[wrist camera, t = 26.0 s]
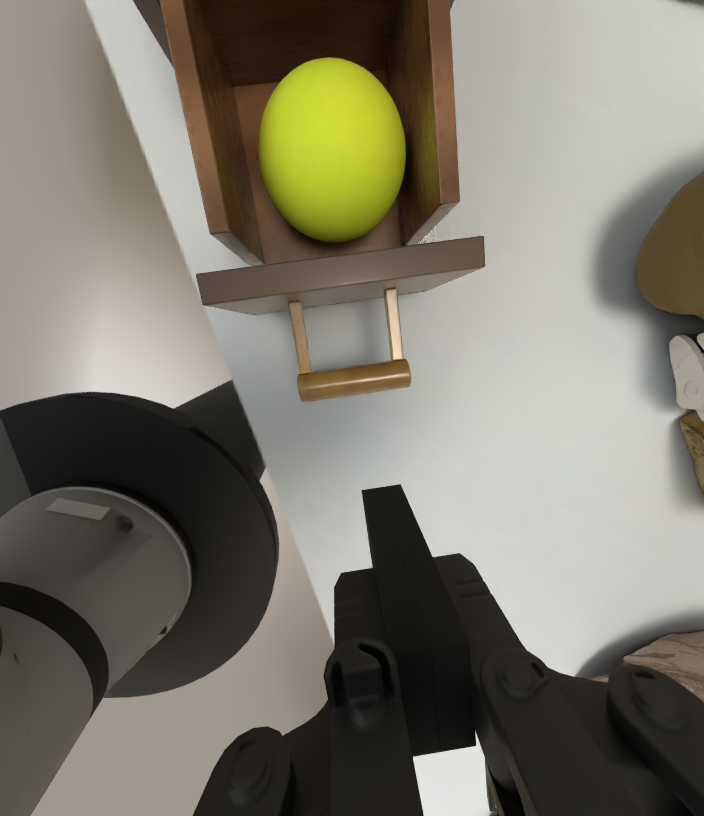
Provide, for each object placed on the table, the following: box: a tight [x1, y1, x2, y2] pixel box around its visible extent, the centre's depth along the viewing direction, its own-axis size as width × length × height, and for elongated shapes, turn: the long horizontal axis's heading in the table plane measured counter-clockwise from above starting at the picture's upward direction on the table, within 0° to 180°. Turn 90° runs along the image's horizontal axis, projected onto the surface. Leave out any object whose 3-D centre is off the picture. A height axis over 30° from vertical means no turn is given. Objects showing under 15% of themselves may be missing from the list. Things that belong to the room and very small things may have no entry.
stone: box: [590, 631, 704, 702], centre depth 30 cm, size 15×9×10 cm
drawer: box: [160, 0, 485, 403], centre depth 17 cm, size 18×12×9 cm, turn 8°
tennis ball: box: [258, 57, 406, 242], centre depth 16 cm, size 7×7×7 cm
